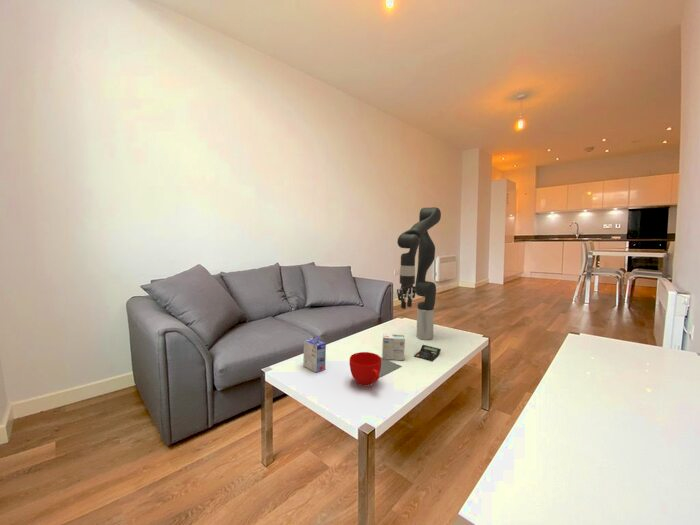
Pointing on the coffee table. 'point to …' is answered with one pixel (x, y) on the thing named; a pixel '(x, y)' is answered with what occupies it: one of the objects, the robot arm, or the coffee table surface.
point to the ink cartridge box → (314, 354)
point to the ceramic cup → (365, 367)
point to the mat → (387, 367)
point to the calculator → (428, 353)
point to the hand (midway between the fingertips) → (406, 307)
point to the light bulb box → (393, 346)
